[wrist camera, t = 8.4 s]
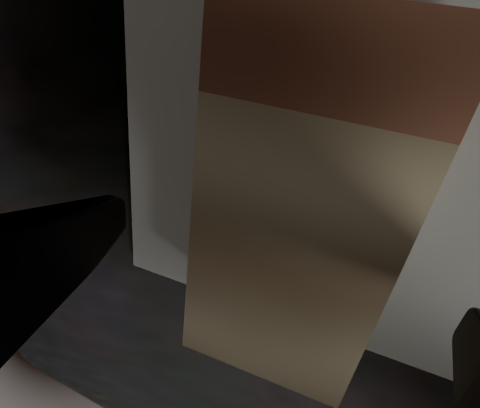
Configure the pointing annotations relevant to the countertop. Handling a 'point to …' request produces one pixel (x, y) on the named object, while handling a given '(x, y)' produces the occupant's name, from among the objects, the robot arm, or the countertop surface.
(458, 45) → the beige and brown block
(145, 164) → the grey mat
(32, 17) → the countertop surface
